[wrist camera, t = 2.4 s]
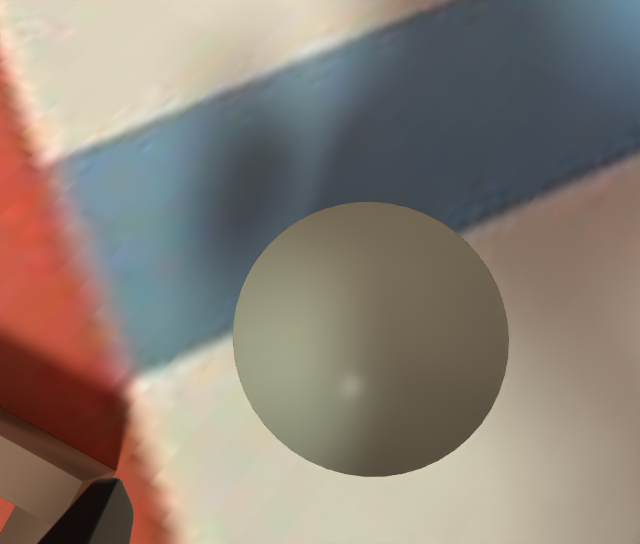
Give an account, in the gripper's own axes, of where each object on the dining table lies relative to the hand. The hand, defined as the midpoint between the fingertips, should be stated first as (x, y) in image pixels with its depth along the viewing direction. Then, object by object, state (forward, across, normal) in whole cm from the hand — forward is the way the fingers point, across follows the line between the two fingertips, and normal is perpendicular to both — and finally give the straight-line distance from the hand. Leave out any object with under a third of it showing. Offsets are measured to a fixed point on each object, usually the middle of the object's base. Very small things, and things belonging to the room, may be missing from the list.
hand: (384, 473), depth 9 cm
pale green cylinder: (+9, 0, +5) cm, 10 cm away
